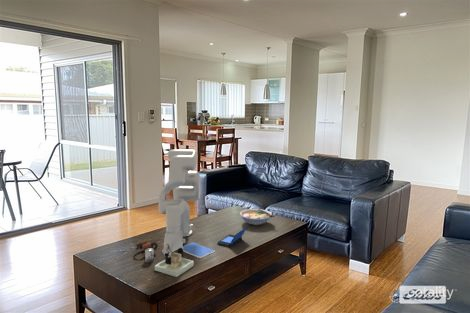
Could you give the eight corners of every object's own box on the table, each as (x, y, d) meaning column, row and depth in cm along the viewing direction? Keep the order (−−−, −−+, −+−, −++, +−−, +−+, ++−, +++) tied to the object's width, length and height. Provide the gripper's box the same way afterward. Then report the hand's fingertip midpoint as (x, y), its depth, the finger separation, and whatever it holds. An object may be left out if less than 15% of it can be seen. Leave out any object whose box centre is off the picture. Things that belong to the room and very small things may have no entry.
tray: (172, 259, 180) (172, 255, 179) (193, 265, 173) (193, 260, 173) (154, 270, 168) (154, 265, 167) (176, 277, 161) (176, 272, 161)
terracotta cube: (165, 247, 195) (165, 241, 194) (172, 248, 194) (172, 241, 194) (163, 250, 191) (163, 244, 191) (170, 251, 191) (169, 244, 190)
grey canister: (149, 258, 181) (149, 247, 181) (155, 259, 179) (155, 249, 178) (143, 261, 178) (143, 250, 177) (149, 263, 175) (149, 252, 175)
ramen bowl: (234, 220, 245) (234, 209, 244) (261, 216, 254) (262, 206, 253) (248, 231, 222) (248, 219, 221) (278, 227, 231) (278, 215, 230)
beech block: (173, 262, 174) (173, 252, 173) (181, 265, 171) (181, 254, 170) (167, 266, 169) (167, 255, 168) (175, 269, 167) (174, 257, 166)
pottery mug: (138, 259, 180) (133, 245, 182) (139, 260, 189) (135, 246, 191) (160, 251, 184) (155, 237, 186) (160, 252, 193) (155, 238, 194)
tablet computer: (176, 249, 193) (176, 247, 193) (193, 243, 203) (193, 241, 203) (199, 259, 181) (199, 257, 181) (215, 252, 190) (215, 250, 190)
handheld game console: (229, 236, 214) (229, 222, 213) (247, 240, 208) (248, 226, 206) (216, 244, 200) (216, 230, 199) (235, 249, 194) (235, 234, 193)
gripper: (178, 221, 177) (179, 252, 179) (156, 232, 162) (157, 265, 164) (190, 224, 173) (190, 255, 176) (168, 235, 158) (169, 268, 161)
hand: (174, 260), depth 170 cm, fingers open, 9 cm apart
